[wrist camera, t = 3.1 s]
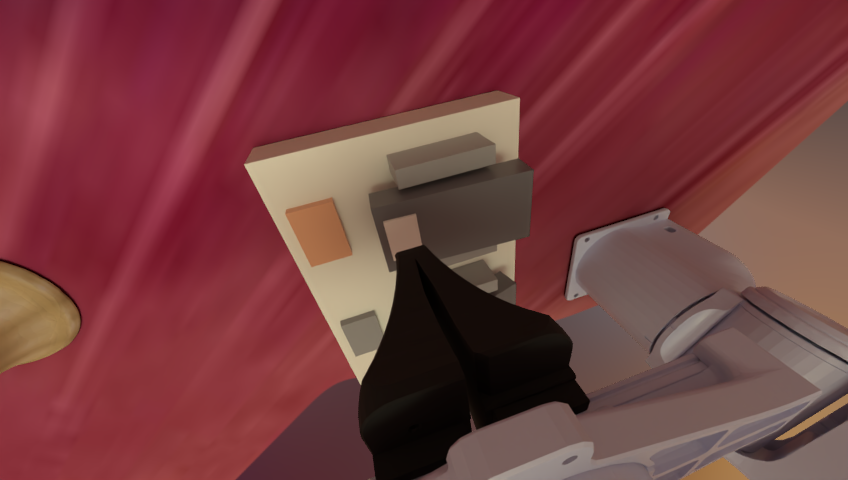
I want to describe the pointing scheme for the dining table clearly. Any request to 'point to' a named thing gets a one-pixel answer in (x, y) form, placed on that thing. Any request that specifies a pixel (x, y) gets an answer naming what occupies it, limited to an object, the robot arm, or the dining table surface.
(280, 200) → the switch panel
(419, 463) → the robot arm
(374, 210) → the rocker
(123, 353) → the dining table surface
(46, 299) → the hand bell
